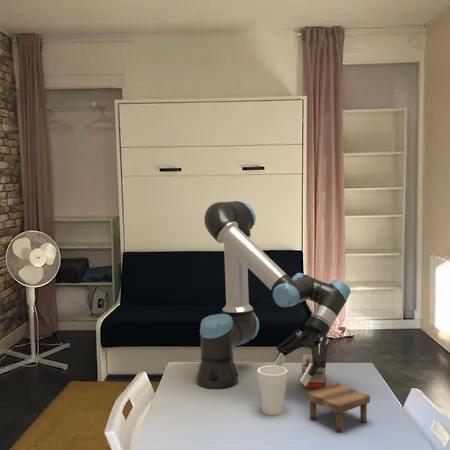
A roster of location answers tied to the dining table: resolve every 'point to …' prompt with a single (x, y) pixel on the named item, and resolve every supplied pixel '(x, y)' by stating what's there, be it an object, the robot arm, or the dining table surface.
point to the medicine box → (319, 376)
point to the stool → (338, 402)
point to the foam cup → (272, 388)
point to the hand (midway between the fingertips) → (287, 377)
